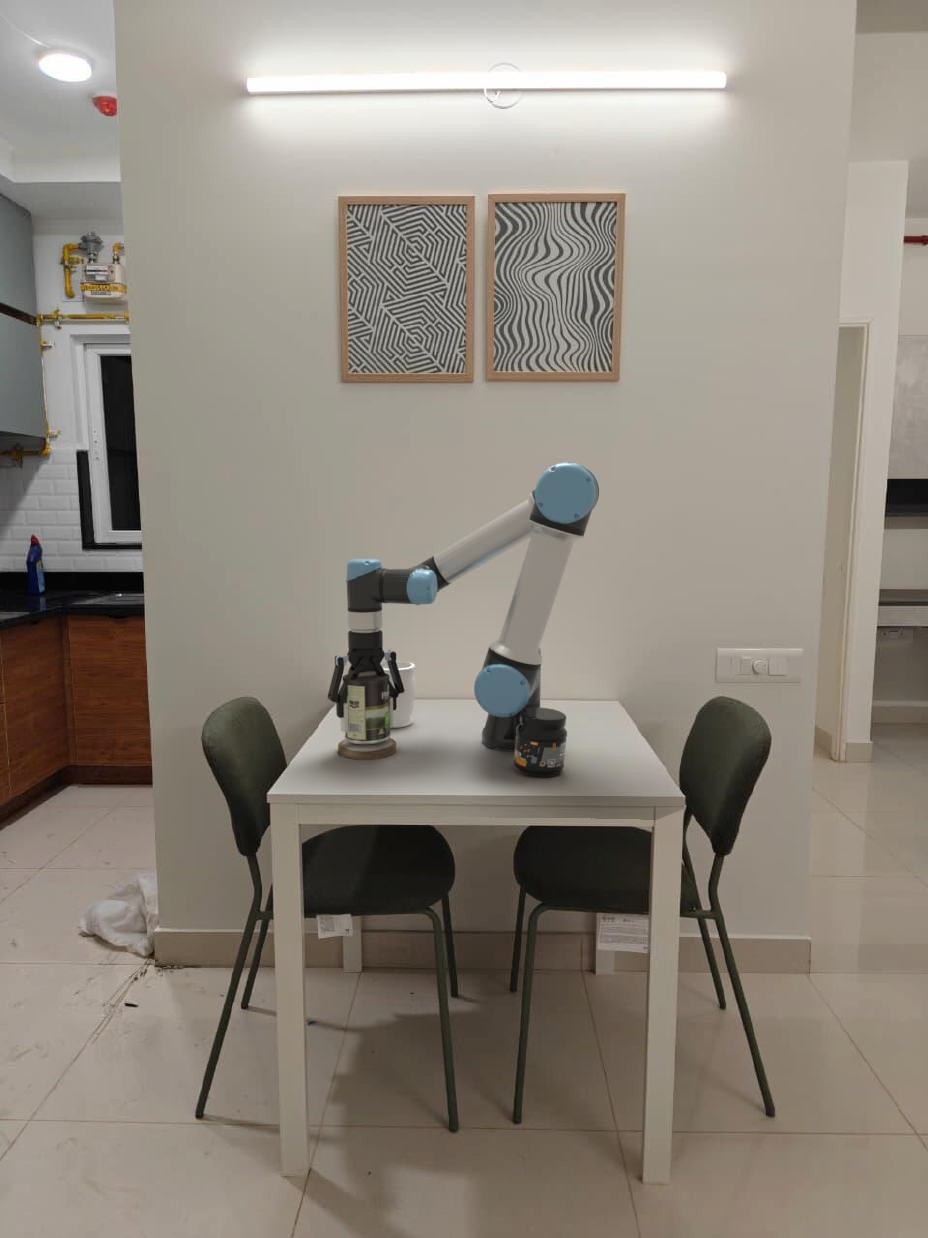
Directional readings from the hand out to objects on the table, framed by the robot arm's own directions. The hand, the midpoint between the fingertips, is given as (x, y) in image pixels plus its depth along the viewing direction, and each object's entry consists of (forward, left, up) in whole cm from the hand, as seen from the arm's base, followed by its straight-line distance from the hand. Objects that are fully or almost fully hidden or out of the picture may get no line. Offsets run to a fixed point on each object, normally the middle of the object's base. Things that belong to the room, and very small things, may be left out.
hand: (367, 728), depth 182 cm
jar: (+14, -17, -5) cm, 23 cm away
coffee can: (0, 0, -2) cm, 2 cm away
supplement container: (-34, -20, -5) cm, 40 cm away
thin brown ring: (0, 0, -5) cm, 5 cm away
